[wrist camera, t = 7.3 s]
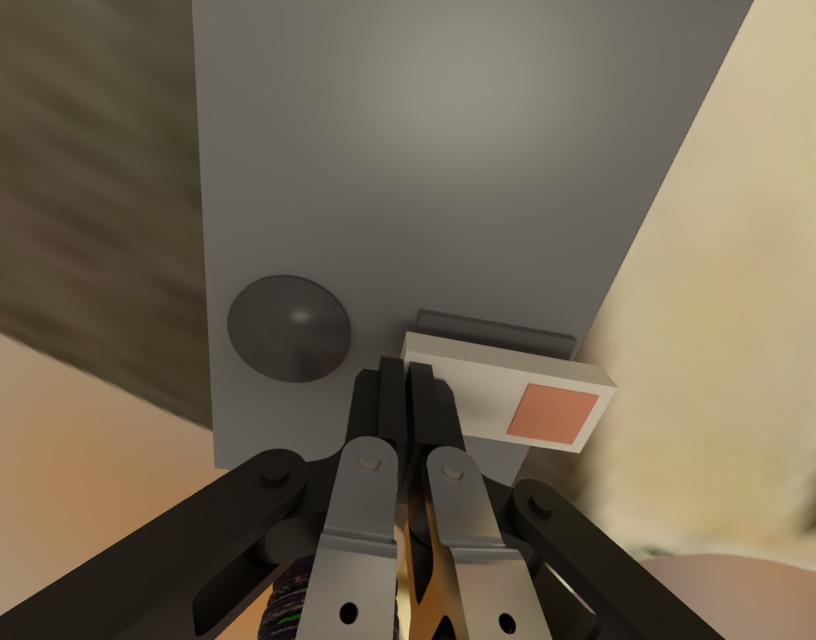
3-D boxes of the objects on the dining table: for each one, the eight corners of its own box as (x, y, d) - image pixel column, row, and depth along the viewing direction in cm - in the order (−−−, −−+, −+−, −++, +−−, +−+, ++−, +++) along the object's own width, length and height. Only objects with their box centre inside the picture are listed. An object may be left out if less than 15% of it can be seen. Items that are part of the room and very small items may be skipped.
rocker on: (601, 366, 13) (619, 389, 12) (566, 429, 14) (580, 454, 13) (406, 331, 12) (406, 351, 11) (390, 400, 14) (388, 424, 13)
